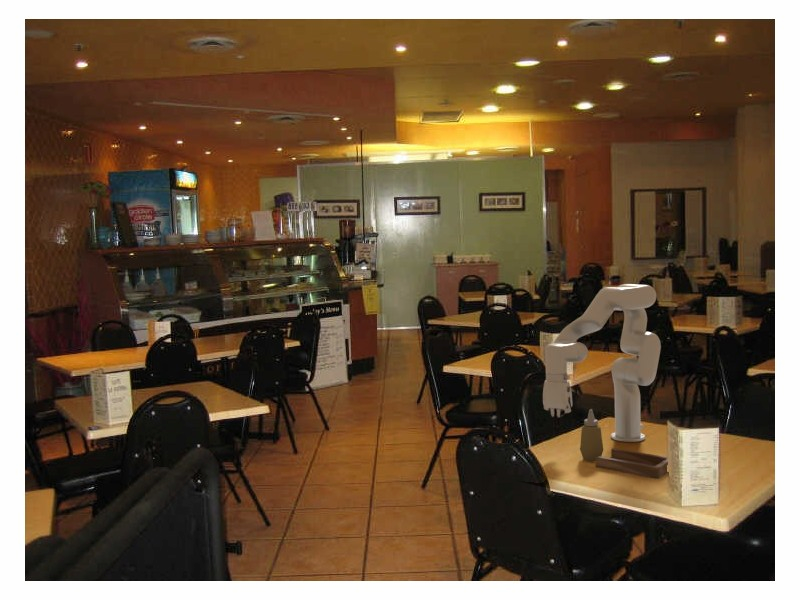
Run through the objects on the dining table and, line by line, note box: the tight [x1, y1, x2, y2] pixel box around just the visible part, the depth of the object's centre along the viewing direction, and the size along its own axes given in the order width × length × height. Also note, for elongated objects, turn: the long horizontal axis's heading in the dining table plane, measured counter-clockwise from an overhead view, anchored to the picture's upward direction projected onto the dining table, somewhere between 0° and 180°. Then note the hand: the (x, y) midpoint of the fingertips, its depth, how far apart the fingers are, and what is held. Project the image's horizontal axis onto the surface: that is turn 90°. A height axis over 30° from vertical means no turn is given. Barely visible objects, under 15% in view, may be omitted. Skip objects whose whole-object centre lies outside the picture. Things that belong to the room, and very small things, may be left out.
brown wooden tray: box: [595, 447, 669, 480], centre depth 256 cm, size 13×22×4 cm, turn 48°
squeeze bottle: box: [579, 409, 604, 463], centre depth 266 cm, size 8×8×18 cm
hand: (557, 426), depth 275 cm, fingers closed
